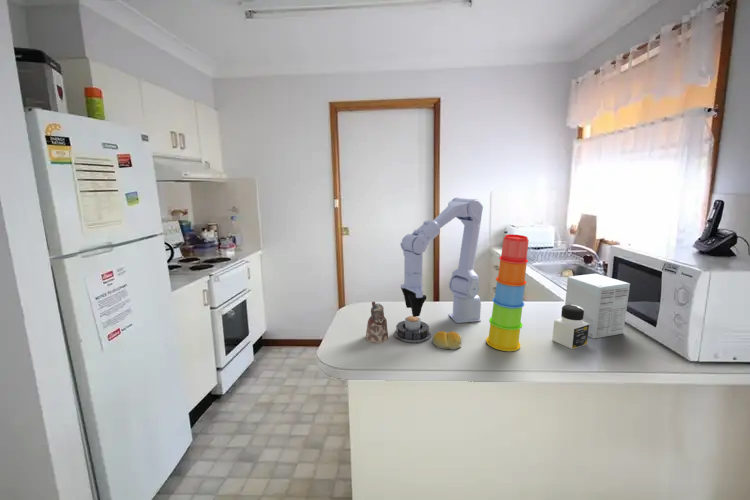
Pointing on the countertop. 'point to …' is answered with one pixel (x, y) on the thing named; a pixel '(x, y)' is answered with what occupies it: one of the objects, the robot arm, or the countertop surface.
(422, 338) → the toothed ring bowl
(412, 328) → the cup
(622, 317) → the supplement box
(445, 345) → the bread roll
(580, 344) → the medicine bottle
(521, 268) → the stacking cups
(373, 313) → the figurine
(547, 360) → the countertop surface
